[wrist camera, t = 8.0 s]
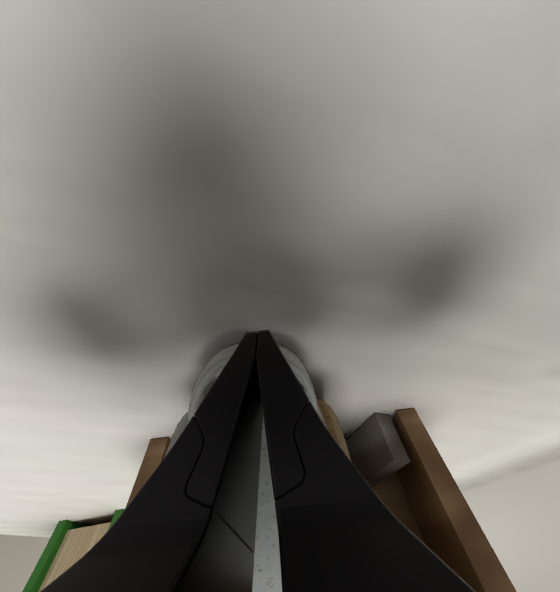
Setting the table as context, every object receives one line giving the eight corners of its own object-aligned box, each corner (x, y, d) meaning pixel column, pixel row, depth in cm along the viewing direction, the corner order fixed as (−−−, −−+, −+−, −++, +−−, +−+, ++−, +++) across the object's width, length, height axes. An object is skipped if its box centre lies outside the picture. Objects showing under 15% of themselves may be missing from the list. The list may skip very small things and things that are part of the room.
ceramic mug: (328, 432, 17) (368, 605, 11) (218, 446, 17) (191, 626, 11) (328, 320, 11) (413, 555, 5) (160, 343, 11) (31, 601, 5)
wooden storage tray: (414, 408, 16) (623, 782, 7) (397, 449, 19) (519, 731, 10) (150, 439, 16) (0, 852, 7) (181, 474, 20) (110, 778, 10)
